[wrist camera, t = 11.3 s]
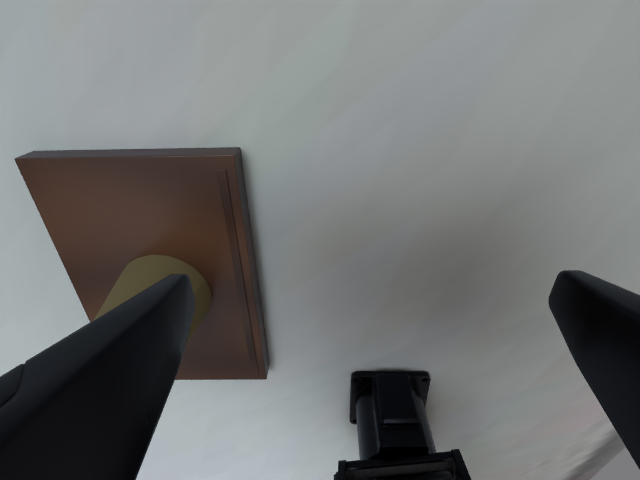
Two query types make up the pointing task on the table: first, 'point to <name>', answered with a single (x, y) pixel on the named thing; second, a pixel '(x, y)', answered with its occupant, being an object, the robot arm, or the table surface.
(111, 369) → the robot arm
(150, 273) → the olive yellow pawn
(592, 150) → the table surface
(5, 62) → the table surface
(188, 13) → the table surface
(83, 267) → the walnut board
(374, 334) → the table surface
